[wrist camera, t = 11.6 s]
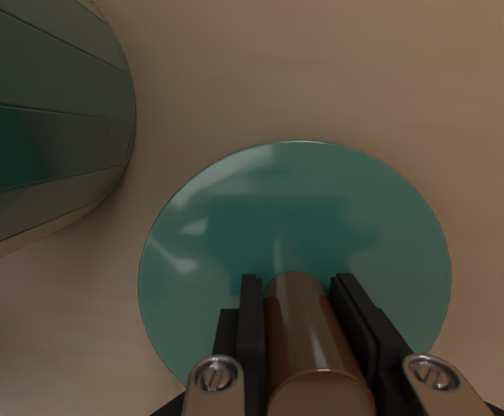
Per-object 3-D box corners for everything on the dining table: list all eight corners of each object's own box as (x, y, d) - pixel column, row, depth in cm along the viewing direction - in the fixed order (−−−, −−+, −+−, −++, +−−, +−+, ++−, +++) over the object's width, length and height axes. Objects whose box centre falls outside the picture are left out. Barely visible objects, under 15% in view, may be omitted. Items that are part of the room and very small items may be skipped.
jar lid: (160, 401, 14) (93, 593, 8) (132, 142, 11) (-3, 149, 5) (416, 400, 14) (534, 593, 8) (453, 136, 11) (680, 137, 5)
